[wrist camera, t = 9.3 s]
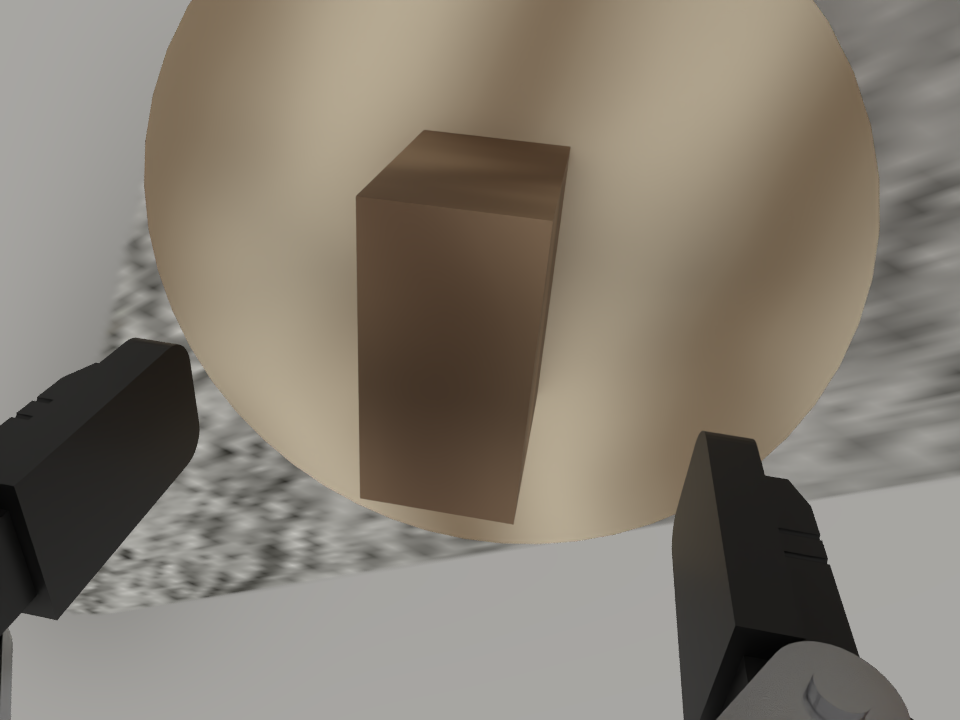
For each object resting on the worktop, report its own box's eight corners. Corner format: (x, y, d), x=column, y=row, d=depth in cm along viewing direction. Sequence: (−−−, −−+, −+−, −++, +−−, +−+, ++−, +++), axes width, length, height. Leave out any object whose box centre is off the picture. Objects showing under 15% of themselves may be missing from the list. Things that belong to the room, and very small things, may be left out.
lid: (997, -124, 12) (1240, -163, 8) (750, 557, 21) (791, 749, 16) (117, -187, 14) (-150, -253, 9) (211, 465, 22) (97, 613, 17)
